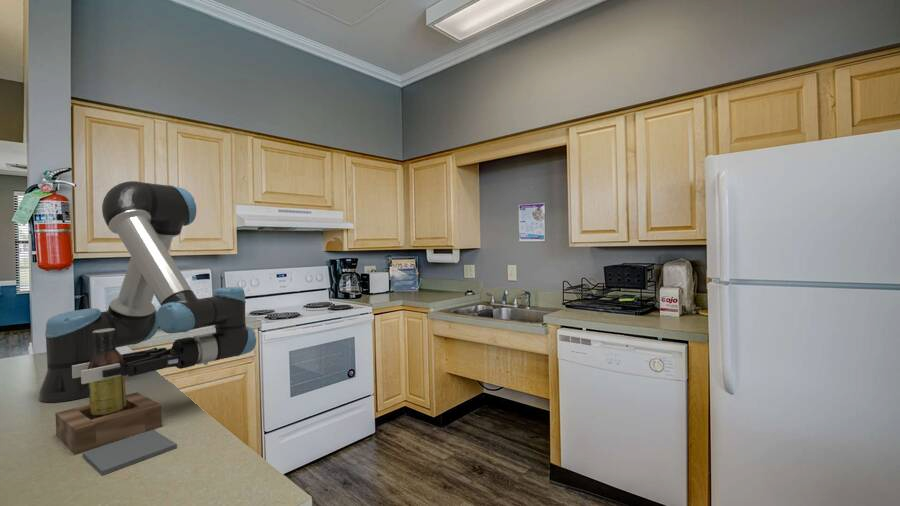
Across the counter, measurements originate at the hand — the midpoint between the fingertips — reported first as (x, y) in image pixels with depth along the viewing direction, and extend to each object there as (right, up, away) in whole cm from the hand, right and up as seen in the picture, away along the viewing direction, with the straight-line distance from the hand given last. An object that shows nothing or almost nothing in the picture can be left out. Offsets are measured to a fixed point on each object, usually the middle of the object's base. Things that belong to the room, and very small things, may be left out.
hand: (77, 374), depth 88 cm
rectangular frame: (+4, -14, +4) cm, 15 cm away
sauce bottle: (+3, -11, +4) cm, 12 cm away
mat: (+16, -14, -6) cm, 22 cm away
